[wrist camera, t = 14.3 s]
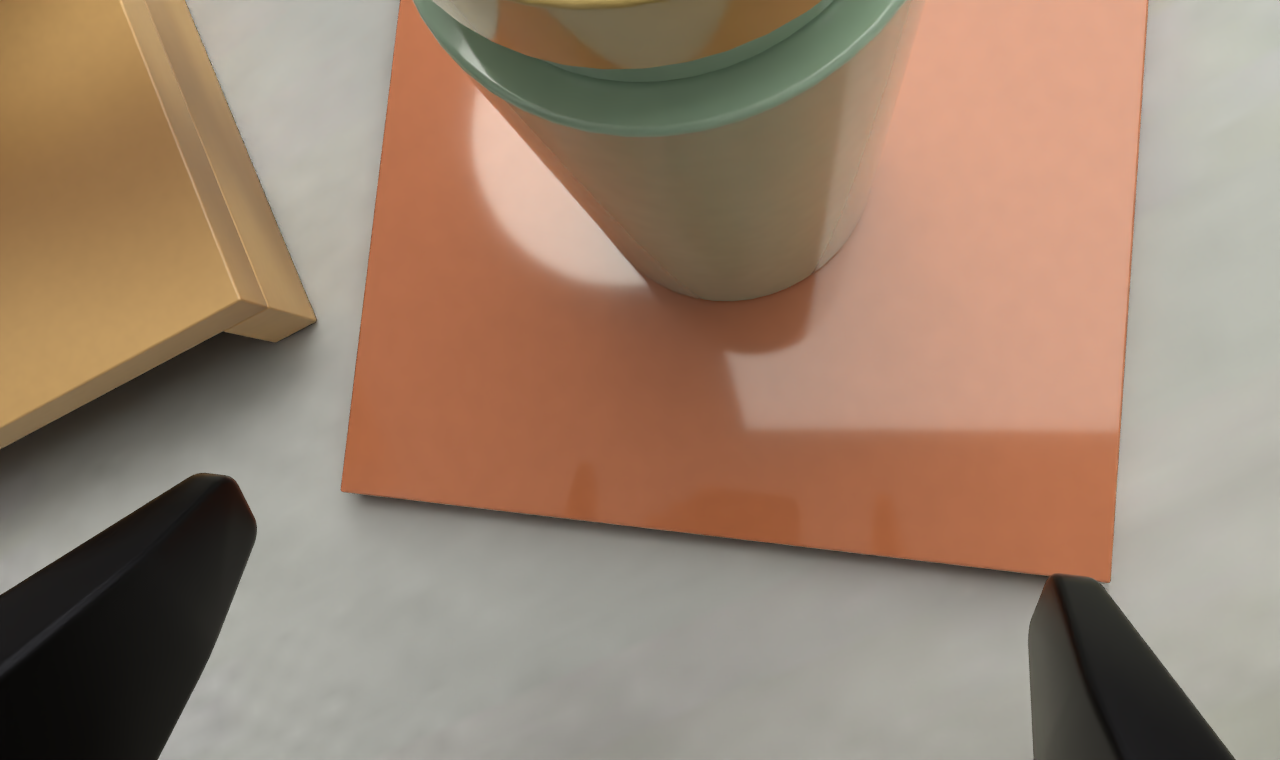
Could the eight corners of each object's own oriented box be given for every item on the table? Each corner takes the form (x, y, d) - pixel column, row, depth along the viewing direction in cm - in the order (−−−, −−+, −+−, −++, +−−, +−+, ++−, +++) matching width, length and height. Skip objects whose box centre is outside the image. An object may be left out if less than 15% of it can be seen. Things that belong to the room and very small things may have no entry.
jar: (656, 348, 19) (414, 164, 7) (550, 103, 20) (172, -441, 8) (924, 227, 18) (1177, -215, 6) (802, -23, 19) (814, -840, 7)
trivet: (1097, 578, 18) (1111, 583, 17) (356, 490, 21) (339, 491, 20) (1148, -186, 19) (1163, -214, 18) (435, -169, 22) (422, -192, 21)
